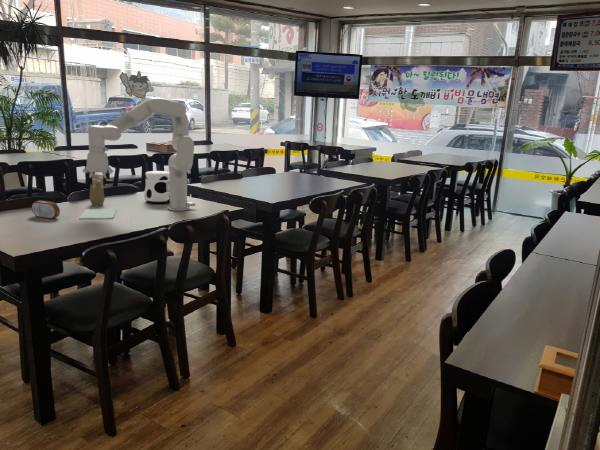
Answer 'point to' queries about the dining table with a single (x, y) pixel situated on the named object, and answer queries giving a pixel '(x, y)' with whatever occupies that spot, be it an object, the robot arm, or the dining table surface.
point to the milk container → (157, 186)
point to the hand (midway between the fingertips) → (98, 184)
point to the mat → (98, 214)
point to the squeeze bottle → (97, 194)
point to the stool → (97, 177)
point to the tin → (45, 209)
